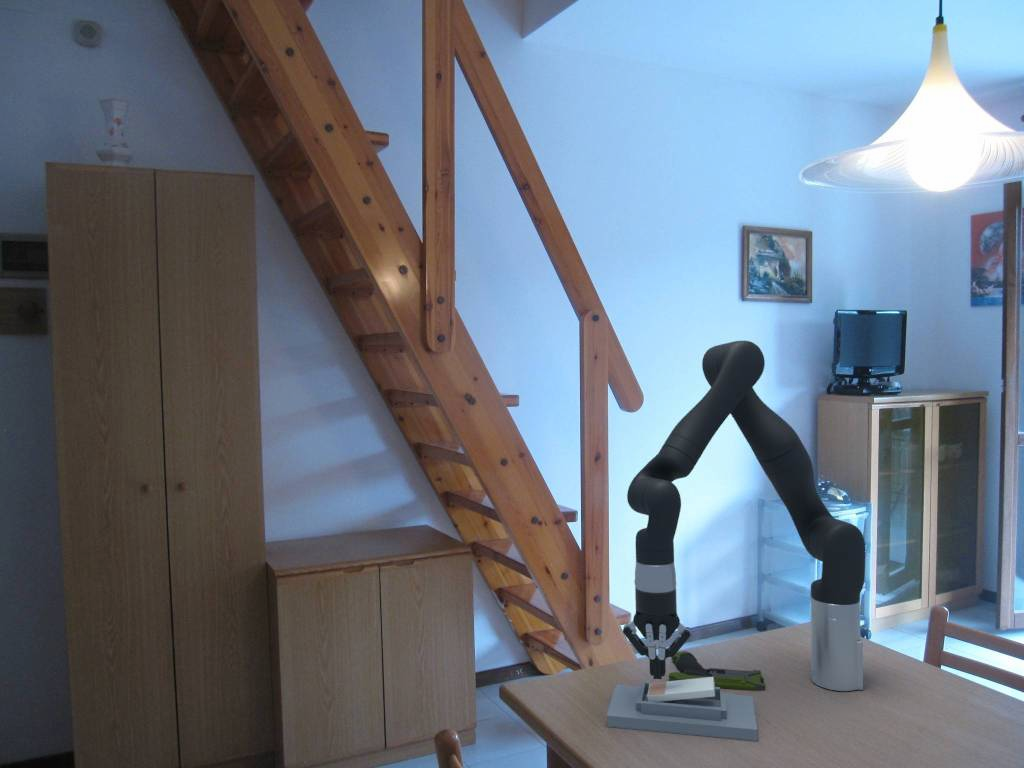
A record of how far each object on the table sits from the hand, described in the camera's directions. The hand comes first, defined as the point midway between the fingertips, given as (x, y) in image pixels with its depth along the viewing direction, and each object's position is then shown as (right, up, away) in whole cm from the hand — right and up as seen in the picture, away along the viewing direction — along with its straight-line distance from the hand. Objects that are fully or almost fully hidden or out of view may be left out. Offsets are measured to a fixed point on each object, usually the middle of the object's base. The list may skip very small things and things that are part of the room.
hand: (657, 677), depth 144 cm
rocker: (+4, -2, -1) cm, 5 cm away
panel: (+4, -7, -1) cm, 8 cm away
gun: (+16, -7, +18) cm, 25 cm away
